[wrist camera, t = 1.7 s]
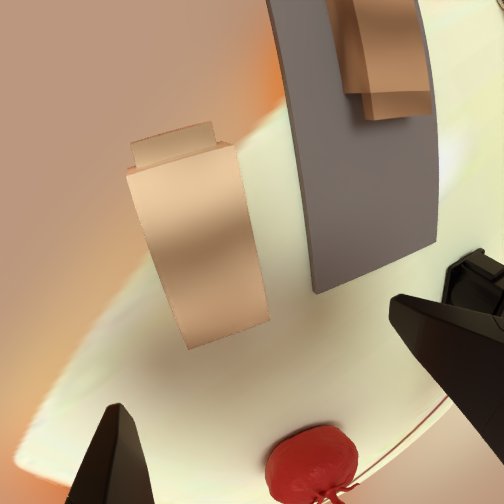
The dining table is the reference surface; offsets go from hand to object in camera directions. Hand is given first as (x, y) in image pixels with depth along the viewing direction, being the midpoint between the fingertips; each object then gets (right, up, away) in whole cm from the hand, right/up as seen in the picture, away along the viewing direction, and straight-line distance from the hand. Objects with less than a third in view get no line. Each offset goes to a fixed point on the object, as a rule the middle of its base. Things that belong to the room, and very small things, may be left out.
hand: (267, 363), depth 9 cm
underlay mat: (+7, +11, +10) cm, 16 cm away
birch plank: (-3, +4, +9) cm, 10 cm away
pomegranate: (+5, -18, +21) cm, 28 cm away
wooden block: (+6, +16, +7) cm, 19 cm away
